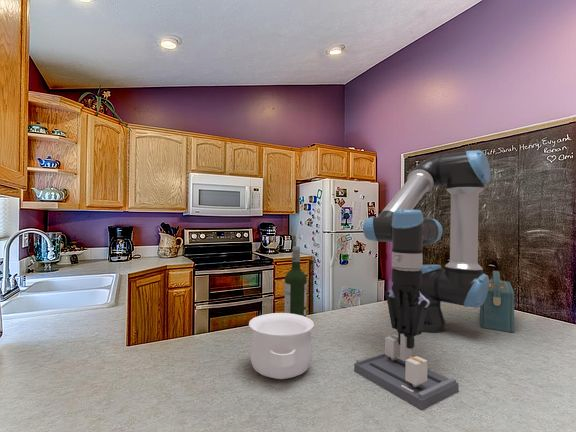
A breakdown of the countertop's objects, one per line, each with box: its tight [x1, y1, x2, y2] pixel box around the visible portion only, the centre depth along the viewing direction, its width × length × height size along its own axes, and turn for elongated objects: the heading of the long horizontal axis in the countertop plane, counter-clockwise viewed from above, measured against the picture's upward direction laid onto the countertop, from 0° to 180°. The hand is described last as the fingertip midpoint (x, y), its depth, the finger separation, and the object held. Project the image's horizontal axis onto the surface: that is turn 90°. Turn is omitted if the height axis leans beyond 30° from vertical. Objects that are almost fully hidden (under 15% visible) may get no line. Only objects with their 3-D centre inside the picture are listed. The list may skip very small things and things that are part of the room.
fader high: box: [384, 334, 400, 360], centre depth 86 cm, size 3×4×6 cm
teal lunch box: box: [479, 270, 515, 333], centre depth 127 cm, size 26×11×20 cm, turn 148°
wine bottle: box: [283, 245, 308, 317], centre depth 115 cm, size 8×8×30 cm
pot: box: [248, 312, 315, 380], centre depth 84 cm, size 22×17×12 cm
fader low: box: [405, 355, 428, 388], centre depth 72 cm, size 3×4×6 cm
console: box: [353, 351, 460, 411], centre depth 79 cm, size 20×14×3 cm
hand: (405, 359), depth 83 cm, fingers closed
